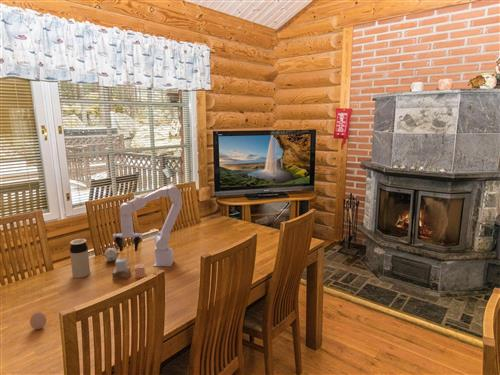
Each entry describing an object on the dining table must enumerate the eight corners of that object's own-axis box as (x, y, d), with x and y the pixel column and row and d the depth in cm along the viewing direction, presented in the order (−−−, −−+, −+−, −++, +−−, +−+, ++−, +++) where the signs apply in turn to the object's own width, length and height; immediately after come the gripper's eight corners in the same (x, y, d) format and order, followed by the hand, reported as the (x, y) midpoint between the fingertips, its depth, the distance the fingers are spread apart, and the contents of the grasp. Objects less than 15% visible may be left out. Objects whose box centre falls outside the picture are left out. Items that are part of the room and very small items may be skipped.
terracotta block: (145, 272, 173) (144, 263, 172) (144, 276, 169) (144, 267, 168) (135, 273, 172) (135, 264, 171) (135, 277, 167) (134, 268, 166)
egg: (27, 330, 125) (25, 314, 123) (40, 323, 129) (38, 307, 128) (37, 333, 123) (35, 317, 122) (50, 326, 128) (48, 309, 126)
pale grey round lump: (113, 268, 186) (112, 259, 179) (100, 262, 187) (98, 252, 180) (123, 256, 192) (122, 246, 185) (110, 249, 193) (109, 240, 186)
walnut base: (130, 273, 173) (129, 266, 172) (127, 279, 166) (127, 272, 165) (116, 274, 172) (115, 266, 171) (112, 280, 165) (112, 273, 164)
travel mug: (93, 272, 173) (90, 239, 169) (81, 279, 165) (77, 244, 162) (81, 270, 175) (78, 237, 172) (68, 277, 168) (65, 242, 164)
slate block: (126, 267, 171) (126, 257, 170) (125, 270, 167) (125, 261, 166) (117, 267, 170) (116, 258, 169) (116, 271, 165) (115, 262, 164)
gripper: (143, 223, 178) (144, 247, 180) (115, 223, 177) (117, 248, 180) (139, 227, 171) (141, 252, 173) (110, 228, 170) (112, 253, 173)
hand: (128, 250), depth 176 cm, fingers open, 7 cm apart
